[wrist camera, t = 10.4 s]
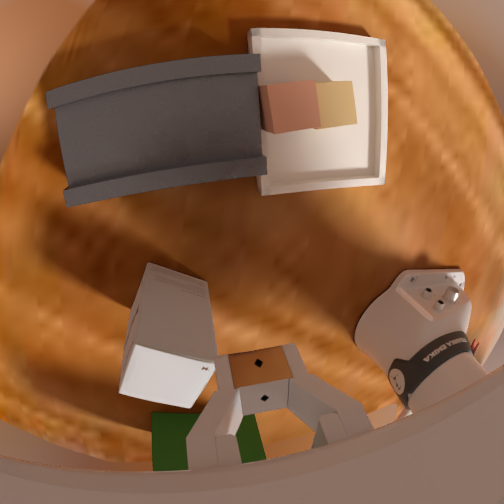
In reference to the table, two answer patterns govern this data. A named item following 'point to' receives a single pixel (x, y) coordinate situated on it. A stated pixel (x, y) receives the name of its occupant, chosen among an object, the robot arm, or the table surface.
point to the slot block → (160, 127)
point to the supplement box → (169, 339)
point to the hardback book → (177, 429)
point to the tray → (328, 139)
